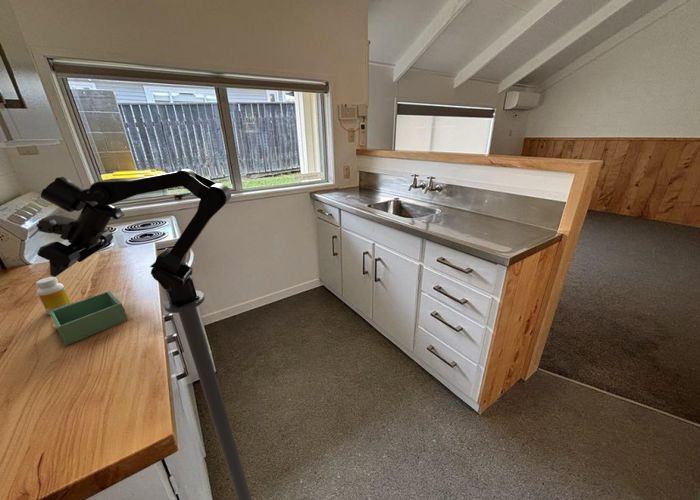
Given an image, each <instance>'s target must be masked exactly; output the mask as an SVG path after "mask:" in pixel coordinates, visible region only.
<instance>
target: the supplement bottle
mask: <svg viewBox="0 0 700 500" xmlns="http://www.w3.org/2000/svg"><path fill="white" fill-rule="evenodd" d="M35 285H36V287H37V288H38V289H37V290H36V294H37V297H38V299H39V300H40V303H41V304H42V306H43V308H44V310H45V312H46V314H47V315H50V313H49V311H52V310H55V309H58V308H60V307H63V306H66V305H69V304H72V303H73V302H72V300H71V298H70V296H69V294H68V292H67V289H66V288H65V286H64V284H62V283H61V282H58V279H57V276H56V277H53V276H48V277H44V278H41V279H39V280H37V281H35Z"/></svg>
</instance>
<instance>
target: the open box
mask: <svg viewBox="0 0 700 500" xmlns="http://www.w3.org/2000/svg"><path fill="white" fill-rule="evenodd" d="M49 313H50V314H49V315H50V318H51V320H52V321H53V323H54V326H55V328H56V330H57V332H58V333H59V335H60V338H61V340H62V341H63V343H64V345H65V346H69V345H71V344H74V343H76V342H78V341H82V339H85V338H88V337H90V336H93V335H94V334H98V333H100V332H102V331H104V330H106V329H109V328H112V327H114V326H116V325H119V324H121V323H123V322H126V321H128V320H129V318H128V315H127V313H126V311H125V308H124V306H123V303H122V302H121V301H120V300H119V299H118V298H117V297H116V296H115V295H114V294H113V293H112V292H111V291H110V290H108V291H104V292H102V293H99V294H96V295H93V296H90V297H87V298H84V299H81V300H79V301H75V302H72V304H69V305H66V306H63V307H60V308H58V309H55V310H52V311H49Z"/></svg>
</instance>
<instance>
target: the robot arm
mask: <svg viewBox="0 0 700 500" xmlns="http://www.w3.org/2000/svg"><path fill="white" fill-rule="evenodd" d="M180 187H183V188H185V190H187V191H188V192H189V193H191V194H192V195H193V196H195V197H196V198H198V199H200V200H199V202H198V206H197V210H196V212H195V214H194V215H193V217H192V218H191V220H190V221H189V223H188V224H187V226H186V227H185V229H184V230H183V231H182V233H181V235H180V236H179V238H178V239H177V240H176V242H175V243H174V245H173V247H172V248H171V249H169V248H168V247H166V248H165V249H163V250H162V251H161V252H160V253H159V254H158V255H157V256H156V259H155V261H154V262H153V263H152V264H151V265H150V266H149V267H150V268H151V270H150V275H151V276H152V278H153V279H154V280H155V281H157V282H158V283H159V285H160V286H161V287H162V288H163V290H164V292H165V295H166V298H167V300H168V301H169V303H171V304H172V305H174V306H176V307H177V308H178V307H181V306H183V305H185V304H188V303H190V302H192V301H194V300H197V299H199V298H200V297H199V296H198V295H197V294H196V291H197V290H196V287H195V283H194V281H193V278H192V277H191V276H192V275H193V270H194V269H193V267H191V266H190V265H187V264H186V263H185V262H186V259H187V255H188V253H189V252H190V250H191V249H192V247H193V245H194V244H195V242H196V241H197V240H198V238H199V237H200V236H201V234H202V233H203V231H204V230H205V228H206V227H207V225H208V224H209V222H210V221H211V219H212V218H213V217H214V216H215V215H216V214H217V213H218V212H219V211H220V210H221V209H222V208H223V207H224V206H226V204H227V203H228V202H229V201H230V200H231V197H232V192H231V190H230V188H229V187H228V186H227V185H225V184H224V183H219V182H218V183H217V182H216V181H213V179H210V178H207V177H205V176H203V175H201V174H198V173H197V172H195V171H194V170H192V169H190V168H184V169H179V170H178V171H172V172H167V173H161V174H157V175H150V176H145V177H140V178H107V179H104V180H99V181H95V182H93V183H91V185H90V187H87V188H83V187H82V186H80V185H78V184H77V183H74V182H72V181H71V180H70V179H68V178H66V177H65V176H60V177H55V179H54V181H52V182H50V183H49V184H48V185H47V186H45V188H43V189H42V191H41V192H40V198H41V199H42V200H44V201H46V202H47V203H50V204H52V205H54V206H56V207H58V208H60V209H62V210H64V211H66V212H68V213H73V212H75V211H76V212H79V211H80V213H79V215H78V217H77V218H76V219H74V218H71V217H68V216H67V217H66V216H63V215H58V214H57V215H56V214H52V215H49V216H45V217H43V218H41V219H39V220H38V223H36V224H35V225H36V227H37V230H38V231H39V232H41V233H45V234H55V235H58V236H60V237H59V238H60V239H61V240H64V241H68V243H69V244H68V245H66V244H64V243H62V242H60V241H52V242H50V243H47V244H44V245H42V246H40V247H39V249H38V251H37V252H36V254H37V256H38V257H39V258H42V259H45V260H47V261H48V262H49V275H50V277H56V278H57V277H58V276H59V275H60V274H62V273H64V272H65V271H66V270H68V269H69V268H71V267H72V266H73V265H75V264H76V263H77V262H78V263H82V262H83V261H85V260H86V259H88V258H90V256H92V255H94V254H95V253H97V252H98V251H100V250H102V249H103V248H104V247H106V246H107V245H108V244H110V243H111V242H112V241H113V239H114V235H113V232H110V231H108V230H109V228H108V227H107V226H108V225H109V223H110V221H111V219H114V220H118V219H121V218H123V217H124V216H125V214H124V212H123V211H122V209H121V206H113V205H114V204H116V203H119V202H122V201H124V200H127V199H130V198H133V197H135V196H138V195H142V194H143V195H144V194H148V193H154V192H159V191H164V190H168V189H174V188H180ZM195 290H196V291H195Z"/></svg>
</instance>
